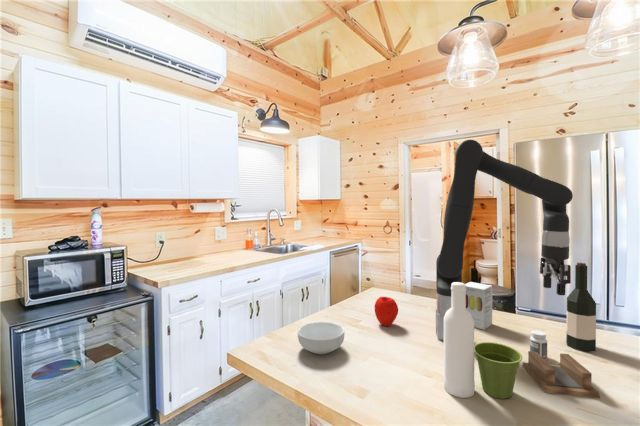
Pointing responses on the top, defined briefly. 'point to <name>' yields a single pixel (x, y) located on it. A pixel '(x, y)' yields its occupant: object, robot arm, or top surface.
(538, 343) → the pill bottle
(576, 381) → the cradle
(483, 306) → the supplement box
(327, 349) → the cereal bowl
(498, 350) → the plant pot
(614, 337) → the top surface
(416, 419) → the top surface
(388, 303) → the apple
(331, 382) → the top surface
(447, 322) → the bottle
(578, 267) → the wine bottle
